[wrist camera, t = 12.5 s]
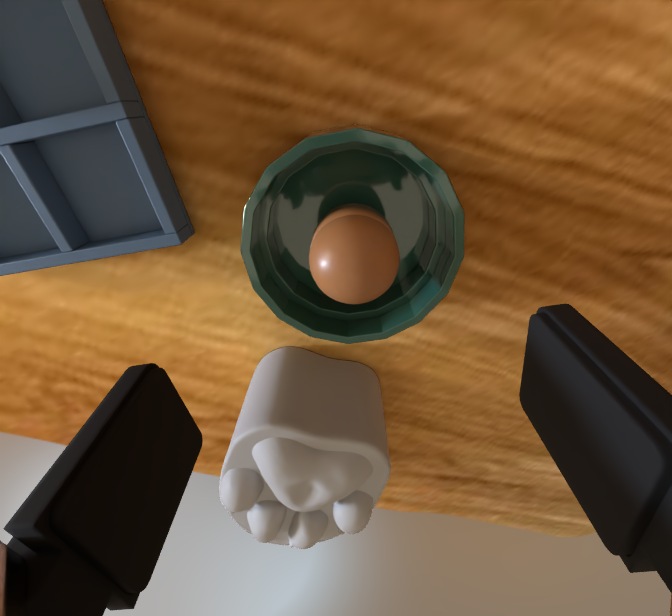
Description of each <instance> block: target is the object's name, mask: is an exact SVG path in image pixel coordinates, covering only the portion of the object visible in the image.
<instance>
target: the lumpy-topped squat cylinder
mask: <svg viewBox="0 0 672 616" xmlns="http://www.w3.org/2000/svg"><path fill="white" fill-rule="evenodd" d="M390 469H391V466H390V459H389V452H388V443H387V435H386V427H385V419H384V411H383V403H382V396H381V388H380V382H379V379H378V377H377V375H376V374H375V372H374V371H373V370H372V369H371V368H369V367H368V366H366V365H364V364H361V363H358V362H353V361H345V360H337V359H331V358H327V357H324V356H321V355H318V354H316V353H313V352H311V351H308V350H305V349H302V348H298V347H282V348H279V349H276V350H274V351H272V352H270V353H268V354H267V355H266V356H265V357H263V358H262V360H261V361H260V362H259V364H258V365H257V367H256V370H255V372H254V375H253V377H252V380H251V382H250V385H249V388H248V391H247V394H246V397H245V400H244V403H243V406H242V409H241V412H240V415H239V419H238V422H237V425H236V428H235V431H234V434H233V437H232V440H231V443H230V445H229V448H228V451H227V454H226V457H225V460H224V464H223V467H222V471H221V478H220V484H219V494H220V499H221V502H222V504H223V506H224V507H225V508H226V510H227V511H228V513H229V514H230V516H231V517H232V518H233V519H234V521H235V522H236V523H237V524H238V525H239V526H240V527H242V528H243V529H244V530H246V531H247V532H248V533H250V534H252V535H253V536H254V538H255V539H256V540H257V541H259V542H262V543H267V542H268V543H273V544H279V545H290V547H293V546H294V547H296V548H299V549H306V548H310V547H312V546H313V545H315V544H316V543H317V542H321V541H325V540H328V539H331V538H333V537H336V536H338V535H340V534H344V533H349V534H355V533H359V532H360V531H362V530H363V529H364V528H365V527H366V525H367V524H368V522H369V519H370V517H371V512H372V509H373V507H374V506H375V504H376V503H377V501H378V500H379V498H380V496H381V494H382V491H383V490H384V488H385V486H386V483H387V481H388V479H389V475H390Z"/></svg>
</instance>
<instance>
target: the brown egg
mask: <svg viewBox="0 0 672 616" xmlns="http://www.w3.org/2000/svg"><path fill="white" fill-rule="evenodd" d="M309 264H310V271H311V274H312V277H313V279H314V280H315V282H316V284H317V285H318V287H319V288H320V289H321V290H322V291H323V292H324V293H325V294H326V295H327V296H329V297H330V298H332V299H334V300H336V301H339V302H342V303H345V304H362V303H367V302H369V301H372V300H374V299H376V298H378V297H379V296H381V295H382V294H383V293H384V292H386V291H387V290H388V289H389V287H390V286H391V285H392V283H393V281H394V279H395V277H396V275H397V272H398V268H399V264H400V255H399V248H398V244H397V241H396V238H395V236H394V233H393V231H392V228H391V226H390V224H389V223H388V221H387V220H386V219H385V217H384V216H383V215H382V214H380V213H379V212H378V211H377V210H375V209H374V208H372V207H370V206H367V205H364V204H357V203H351V204H344V205H341V206H338V207H336V208H334V209H332V210H330V211H329V212H328V213H327V214H325V215H324V217H323V218H322V219H321V220H320V221H319V223H318V225H317V227H316V229H315V231H314V234H313V238H312V242H311V247H310V252H309Z"/></svg>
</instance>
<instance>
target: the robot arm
mask: <svg viewBox="0 0 672 616" xmlns="http://www.w3.org/2000/svg"><path fill="white" fill-rule="evenodd" d="M520 402H521V405H522V408H523V410H524V411H525V413H526V415H527V416H528V418H529V420H530V421H531V423H532V425H533V426H534V428H535V430H536V431H537V433H538V435H539V436H540V438H541V440H542V441H543V443H544V445H545V446H546V448H547V450H548V451H549V453H550V455H551V456H552V458H553V460H554V461H555V463H556V465H557V467H558V468H559V470H560V472H561V473H562V475H563V477H564V478H565V480H566V482H567V483H568V485H569V487H570V488H571V490H572V492H573V493H574V495H575V497H576V498H577V500H578V502H579V503H580V505H581V507H582V508H583V510H584V512H585V513H586V515H587V517H588V518H589V520H590V522H591V523H592V525H593V527H594V528H595V530H596V532H597V533H598V535H599V537H600V538H601V540H602V542H603V543H604V545H605V546H606V548H607V549H608V550H609V551H610V552H611V553H612V554H613V555H619V556H620V557H621V559H622V560H623V562H624V564H625V565H626V567H627V569H628V570H629V572H630V573H633V572H647V571H657V572H658V574H659V575H660V577H661V578H662V580H663V581H664V582H665V584H666V586H667V587H668V589H669V590H670V592H671V593H672V395H671V394H670V393H669V392H668V391H667V390H665V389H664V388H663V387H662V386H661V385H660V384H659V383H658V382H656V381H655V380H654V379H653V378H652V377H651V376H650V375H649V374H647V373H646V372H645V371H644V370H643V369H642V368H641V367H640V366H638V365H637V364H636V363H635V362H634V361H633V360H632V359H631V358H629V357H628V356H627V355H626V354H625V353H624V352H623V351H622V350H620V349H619V348H618V347H617V346H616V345H615V344H614V343H613V342H611V341H610V340H609V339H608V338H607V337H606V336H605V335H604V334H602V333H601V332H600V331H599V330H598V329H597V328H596V327H595V326H593V325H592V324H591V323H590V322H589V321H588V320H587V319H586V318H584V317H583V316H582V315H581V314H580V313H579V312H578V311H577V310H575V309H574V308H573V307H572V306H571V305H569V304H559V305H552V306H545V307H541V308H539V309H538V310H537V313H536V314H533V315H531V317H530V320H529V328H528V335H527V343H526V350H525V357H524V365H523V372H522V380H521V387H520ZM201 447H202V434H201V432H200V430H199V428H198V427H197V425H196V423H195V422H194V420H193V418H192V416H191V415H190V413H189V411H188V409H187V408H186V406H185V404H184V402H183V401H182V399H181V397H180V396H179V394H178V392H177V390H176V389H175V387H174V385H173V383H172V382H171V380H170V378H169V377H168V375H167V373H166V371H165V370H164V369H163V368H159V367H158V365H156V364H153V363H150V364H143V365H136V366H131V367H129V368H128V369H127V370H126V371H125V372H124V374H123V375H122V376H121V377H120V379H119V380H118V381H117V383H116V384H115V385H114V386H113V388H112V389H111V390H110V392H109V393H108V394H107V396H106V397H105V398H104V399H103V401H102V402H101V403H100V405H99V406H98V407H97V408H96V410H95V411H94V412H93V414H92V415H91V416H90V417H89V419H88V420H87V421H86V423H85V424H84V425H83V427H82V428H81V429H80V430H79V432H78V433H77V434H76V436H75V437H74V438H73V439H72V441H71V442H70V443H69V445H68V446H67V447H66V449H65V450H64V451H63V453H62V454H61V455H60V456H59V458H58V459H57V460H56V461H55V463H54V464H53V465H52V467H51V468H50V469H49V471H48V472H47V473H46V474H45V476H44V477H43V478H42V480H41V481H40V482H39V483H38V485H37V486H36V487H35V489H34V490H33V491H32V492H31V494H30V495H29V496H28V498H27V499H26V500H25V501H24V503H23V504H22V505H21V507H20V508H19V509H18V511H17V512H16V513H15V514H14V516H13V517H12V518H11V520H10V521H9V522H8V524H7V525H6V526H5V528H4V530H6V531H7V532H8V533H10V534H11V535H12V536H13V538H12V539H11V540H10V542H9V543H8V544H7V545H5V544H4V543H2V542H1V541H0V616H102V615H103V613H104V611H105V609H106V607H107V608H108V609H109V610H122V609H134V606H135V604H136V601H137V599H138V596H139V594H140V592H142V591H143V590H144V589H145V588H146V586H147V585H148V583H149V581H150V579H151V576H152V573H153V571H154V568H155V566H156V563H157V560H158V558H159V555H160V553H161V550H162V548H163V545H164V542H165V539H166V537H167V535H168V532H169V530H170V527H171V524H172V521H173V519H174V517H175V514H176V511H177V509H178V506H179V504H180V501H181V499H182V496H183V493H184V491H185V488H186V486H187V483H188V481H189V478H190V475H191V473H192V470H193V468H194V465H195V463H196V460H197V457H198V455H199V452H200V450H201ZM670 609H671V610H670V616H672V594H671V608H670Z"/></svg>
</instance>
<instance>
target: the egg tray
mask: <svg viewBox="0 0 672 616" xmlns="http://www.w3.org/2000/svg"><path fill="white" fill-rule="evenodd" d="M194 233H195V232H194V230H193V227H192V225H191V222H190V220H189V217H188V215H187V212H186V210H185V207H184V205H183V202H182V200H181V197H180V195H179V192H178V190H177V187H176V185H175V182H174V180H173V177H172V175H171V172H170V170H169V167H168V165H167V162H166V160H165V157H164V155H163V152H162V150H161V147H160V145H159V142H158V140H157V137H156V135H155V132H154V130H153V127H152V125H151V122H150V120H149V117H148V115H147V112H146V110H145V107H144V105H143V102H142V100H141V97H140V95H139V92H138V90H137V87H136V85H135V82H134V80H133V77H132V75H131V72H130V69H129V67H128V64H127V62H126V59H125V57H124V54H123V52H122V49H121V47H120V44H119V42H118V39H117V37H116V34H115V32H114V29H113V27H112V24H111V22H110V19H109V17H108V14H107V12H106V9H105V7H104V4H103V2H102V0H0V276H3V275H8V274H14V273H20V272H26V271H31V270H37V269H43V268H49V267H55V266H60V265H66V264H72V263H78V262H83V261H89V260H95V259H101V258H107V257H112V256H118V255H124V254H130V253H135V252H141V251H147V250H153V249H158V248H164V247H170V246H176V245H181V244H183V243H184V242H185V241H186V240H187V239H188V238H189V237H191V236H192V235H193V234H194Z"/></svg>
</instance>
